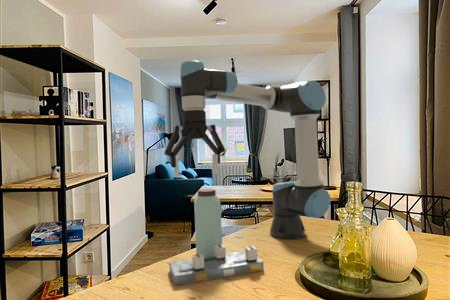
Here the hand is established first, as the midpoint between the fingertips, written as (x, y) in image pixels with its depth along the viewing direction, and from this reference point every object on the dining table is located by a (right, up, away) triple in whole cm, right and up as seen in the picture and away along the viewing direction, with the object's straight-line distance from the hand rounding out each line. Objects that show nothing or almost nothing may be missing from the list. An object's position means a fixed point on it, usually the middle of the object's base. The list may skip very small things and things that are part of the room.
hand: (196, 175), depth 110 cm
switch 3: (+18, -28, +2) cm, 33 cm away
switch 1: (+1, -29, -3) cm, 29 cm away
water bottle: (+3, -31, +15) cm, 35 cm away
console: (+6, -32, +2) cm, 32 cm away
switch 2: (+8, -28, +5) cm, 30 cm away
